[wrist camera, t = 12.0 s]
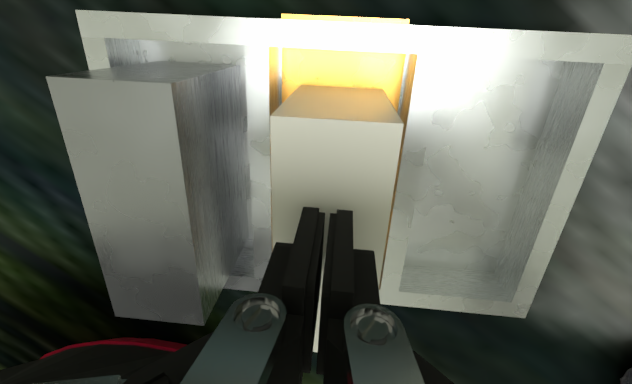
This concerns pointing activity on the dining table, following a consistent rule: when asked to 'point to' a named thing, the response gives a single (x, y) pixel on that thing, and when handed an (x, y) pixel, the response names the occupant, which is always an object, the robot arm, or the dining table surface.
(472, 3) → the dining table surface
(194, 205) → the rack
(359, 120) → the off-white rectangular block
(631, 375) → the rock
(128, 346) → the helmet
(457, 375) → the dining table surface
